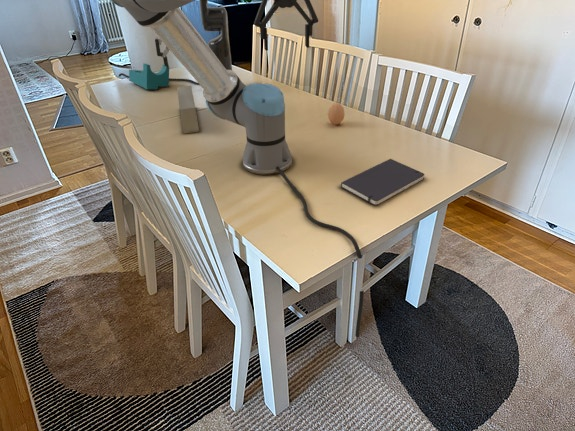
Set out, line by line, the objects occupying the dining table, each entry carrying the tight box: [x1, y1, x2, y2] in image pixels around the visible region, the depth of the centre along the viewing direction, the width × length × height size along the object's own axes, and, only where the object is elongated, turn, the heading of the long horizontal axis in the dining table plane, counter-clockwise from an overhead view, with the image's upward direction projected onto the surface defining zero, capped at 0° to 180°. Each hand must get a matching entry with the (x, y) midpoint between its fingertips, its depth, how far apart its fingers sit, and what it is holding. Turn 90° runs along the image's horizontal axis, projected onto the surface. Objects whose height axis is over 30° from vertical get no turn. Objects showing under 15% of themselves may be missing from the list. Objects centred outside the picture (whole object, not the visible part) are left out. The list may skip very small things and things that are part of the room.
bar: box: [176, 85, 200, 134], centre depth 153 cm, size 25×6×9 cm, turn 14°
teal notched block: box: [128, 63, 170, 90], centre depth 189 cm, size 18×11×10 cm, turn 43°
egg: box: [327, 102, 345, 125], centre depth 147 cm, size 6×6×8 cm
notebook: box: [340, 158, 425, 206], centre depth 114 cm, size 13×2×21 cm
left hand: (179, 66), depth 153 cm, fingers open, 8 cm apart
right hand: (286, 48), depth 132 cm, fingers open, 13 cm apart
